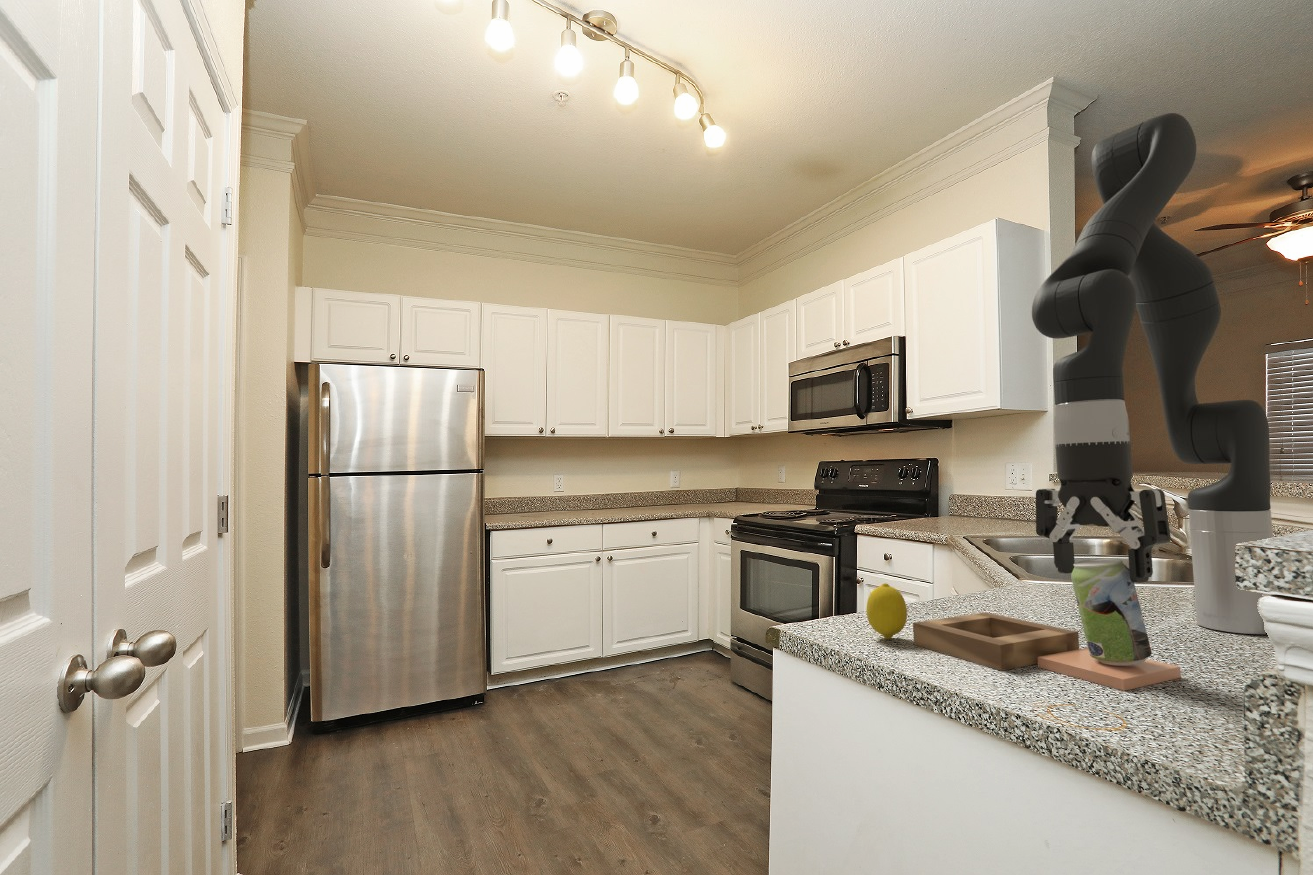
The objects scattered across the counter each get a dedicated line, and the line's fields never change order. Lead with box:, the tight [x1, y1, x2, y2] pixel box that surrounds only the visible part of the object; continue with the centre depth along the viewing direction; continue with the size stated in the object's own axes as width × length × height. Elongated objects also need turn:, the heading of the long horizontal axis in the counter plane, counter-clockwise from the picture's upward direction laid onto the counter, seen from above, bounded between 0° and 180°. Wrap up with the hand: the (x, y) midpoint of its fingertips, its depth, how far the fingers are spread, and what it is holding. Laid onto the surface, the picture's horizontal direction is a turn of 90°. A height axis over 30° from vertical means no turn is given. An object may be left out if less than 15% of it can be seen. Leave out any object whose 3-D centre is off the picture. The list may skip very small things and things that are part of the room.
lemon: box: [866, 582, 908, 640], centre depth 95 cm, size 6×6×8 cm
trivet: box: [1037, 647, 1182, 692], centre depth 77 cm, size 10×10×1 cm
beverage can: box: [1070, 557, 1153, 666], centre depth 77 cm, size 6×7×12 cm
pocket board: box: [912, 612, 1080, 672], centre depth 88 cm, size 14×14×3 cm
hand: (1101, 577), depth 78 cm, fingers open, 8 cm apart
